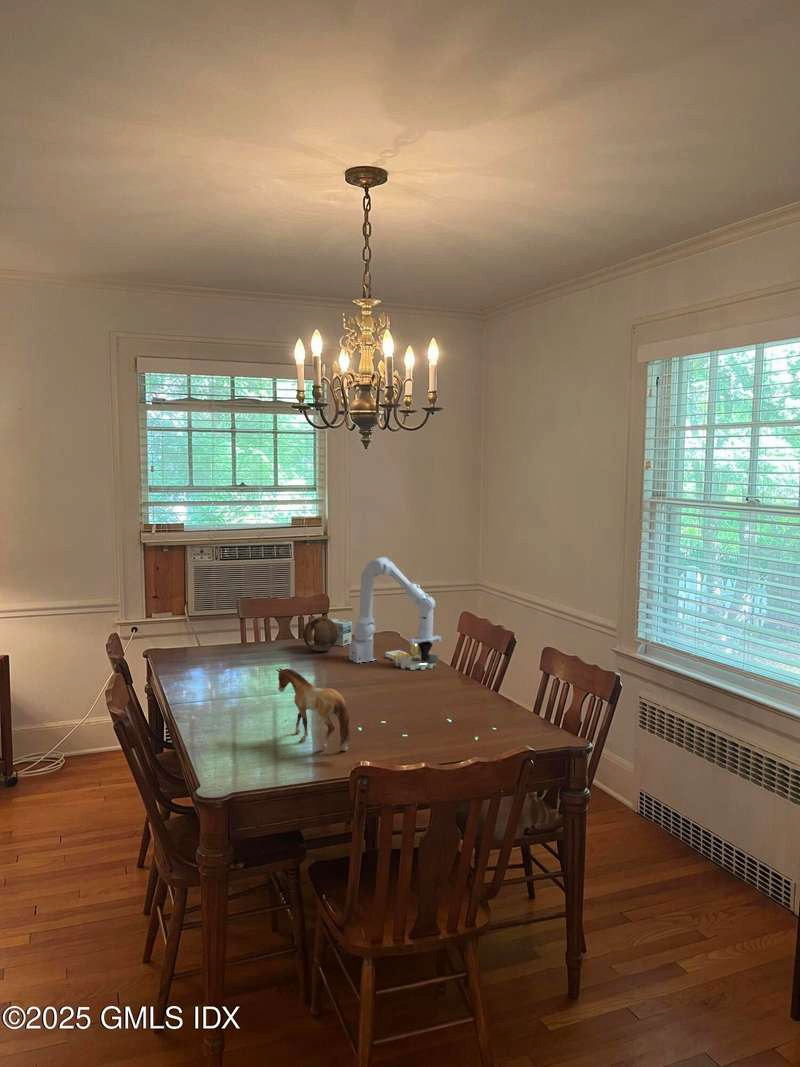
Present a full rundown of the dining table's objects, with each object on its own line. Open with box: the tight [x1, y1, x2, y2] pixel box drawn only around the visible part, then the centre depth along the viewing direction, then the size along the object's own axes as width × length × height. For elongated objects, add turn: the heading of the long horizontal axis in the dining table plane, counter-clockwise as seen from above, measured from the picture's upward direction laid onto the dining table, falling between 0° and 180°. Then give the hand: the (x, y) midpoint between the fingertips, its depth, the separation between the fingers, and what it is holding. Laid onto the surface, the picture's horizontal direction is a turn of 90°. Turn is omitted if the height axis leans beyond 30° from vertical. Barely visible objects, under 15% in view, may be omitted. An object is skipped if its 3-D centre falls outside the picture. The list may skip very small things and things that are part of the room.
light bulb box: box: [330, 618, 353, 647], centre depth 343 cm, size 11×7×11 cm, turn 58°
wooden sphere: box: [302, 616, 338, 652], centre depth 329 cm, size 15×15×15 cm
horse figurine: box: [275, 667, 351, 752], centre depth 220 cm, size 31×8×21 cm, turn 47°
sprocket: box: [394, 653, 439, 671], centre depth 310 cm, size 16×18×5 cm
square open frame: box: [385, 649, 410, 661], centre depth 321 cm, size 7×7×2 cm
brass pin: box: [409, 644, 419, 656], centre depth 324 cm, size 3×3×6 cm
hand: (424, 660), depth 306 cm, fingers closed, pressing on sprocket
